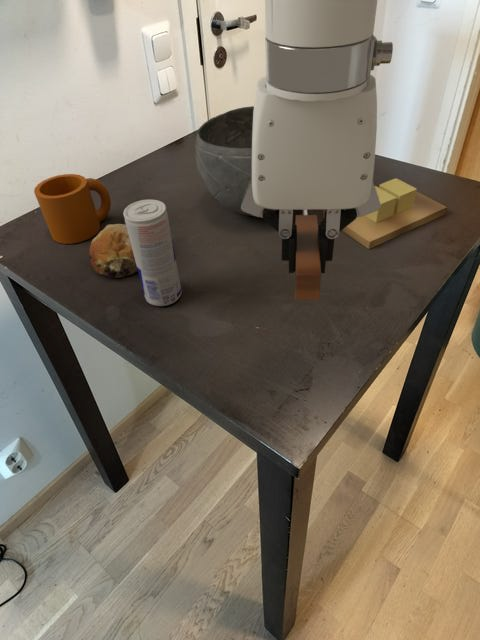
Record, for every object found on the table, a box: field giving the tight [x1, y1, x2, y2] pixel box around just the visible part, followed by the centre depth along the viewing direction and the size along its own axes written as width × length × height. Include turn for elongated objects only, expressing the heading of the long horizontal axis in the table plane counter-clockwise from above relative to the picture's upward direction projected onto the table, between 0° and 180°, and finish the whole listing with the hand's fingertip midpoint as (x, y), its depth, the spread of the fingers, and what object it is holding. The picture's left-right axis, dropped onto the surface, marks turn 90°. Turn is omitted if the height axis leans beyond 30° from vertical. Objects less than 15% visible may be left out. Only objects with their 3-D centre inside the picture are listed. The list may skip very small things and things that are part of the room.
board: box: [322, 191, 448, 250], centre depth 83 cm, size 18×12×2 cm, turn 122°
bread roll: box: [88, 223, 138, 279], centre depth 76 cm, size 10×10×8 cm
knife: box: [294, 210, 322, 301], centre depth 50 cm, size 21×2×3 cm, turn 175°
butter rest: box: [378, 177, 418, 214], centre depth 82 cm, size 4×5×4 cm
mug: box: [33, 173, 112, 245], centre depth 82 cm, size 9×12×9 cm
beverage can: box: [122, 199, 183, 307], centre depth 65 cm, size 6×6×15 cm
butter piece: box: [364, 185, 397, 223], centre depth 80 cm, size 4×5×4 cm
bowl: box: [194, 105, 255, 217], centre depth 83 cm, size 21×21×15 cm
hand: (306, 263), depth 47 cm, fingers closed on knife, 2 cm apart
